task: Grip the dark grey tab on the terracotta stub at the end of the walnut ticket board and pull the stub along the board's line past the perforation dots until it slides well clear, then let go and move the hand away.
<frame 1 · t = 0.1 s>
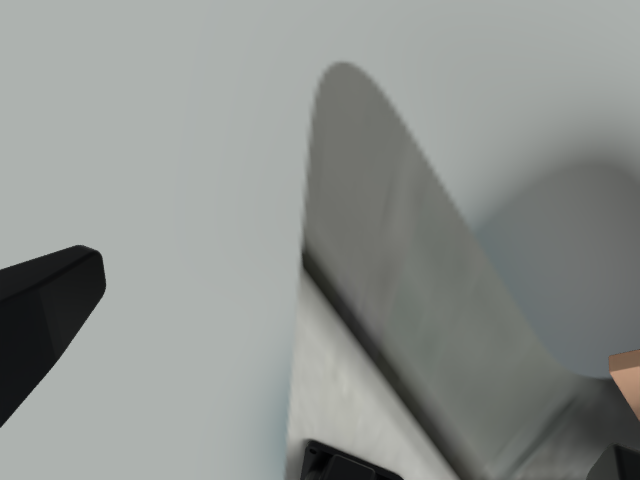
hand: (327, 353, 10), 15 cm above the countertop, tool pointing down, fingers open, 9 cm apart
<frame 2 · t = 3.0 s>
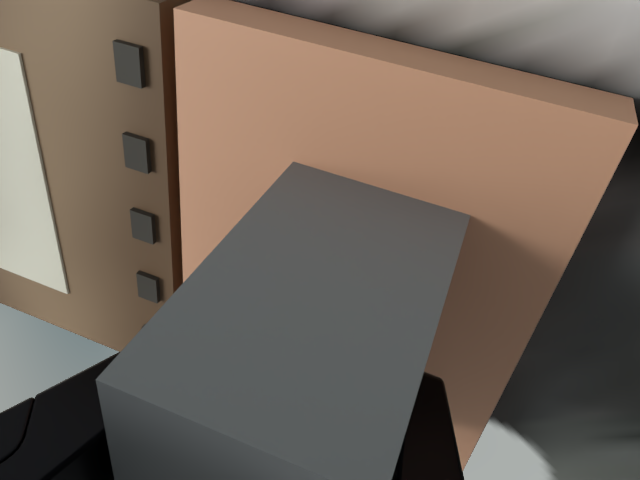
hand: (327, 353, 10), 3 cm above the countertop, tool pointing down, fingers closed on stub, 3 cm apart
ticket board: (117, 182, 13), on the countertop
stub: (298, 370, 9), point 3 cm above the countertop, slide at 0.0 cm, touching gripper
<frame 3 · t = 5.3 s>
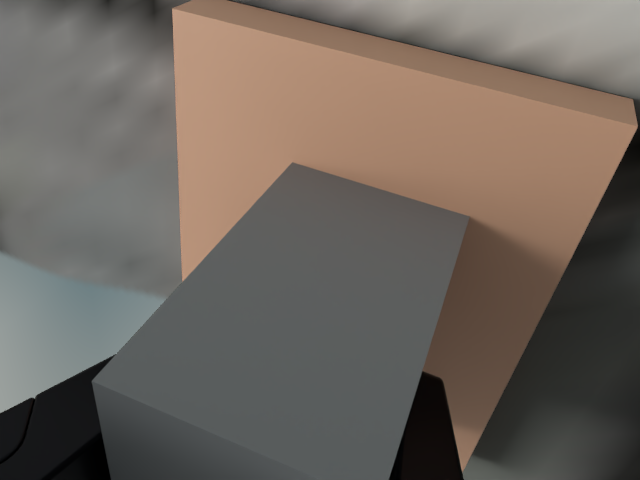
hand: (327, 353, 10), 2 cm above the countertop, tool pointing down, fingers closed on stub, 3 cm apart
stub: (297, 371, 9), point 3 cm above the countertop, slide at 7.3 cm, touching gripper
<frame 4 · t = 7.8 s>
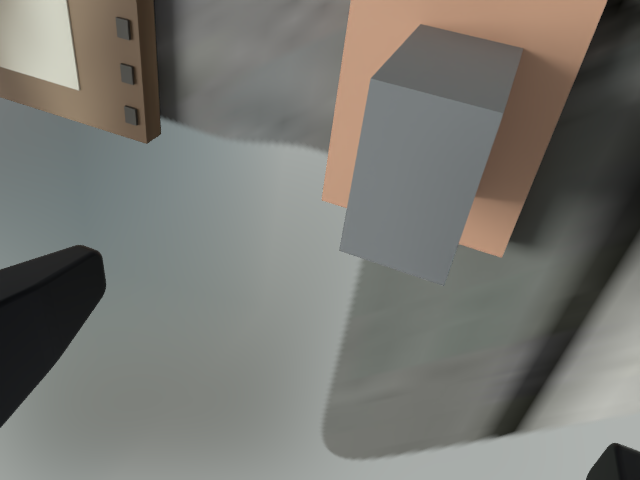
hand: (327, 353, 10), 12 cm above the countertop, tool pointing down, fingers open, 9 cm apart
ticket board: (109, 13, 21), on the countertop
stub: (425, 138, 16), point 3 cm above the countertop, slide at 7.4 cm
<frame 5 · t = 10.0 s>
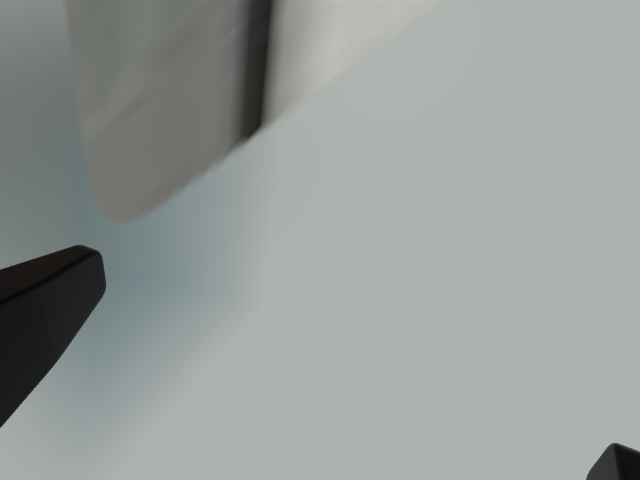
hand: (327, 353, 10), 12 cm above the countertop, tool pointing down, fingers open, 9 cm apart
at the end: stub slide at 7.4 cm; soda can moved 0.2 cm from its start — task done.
